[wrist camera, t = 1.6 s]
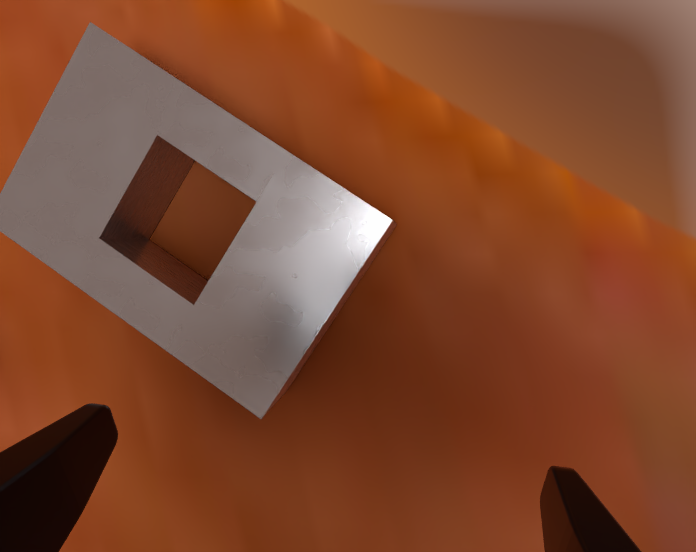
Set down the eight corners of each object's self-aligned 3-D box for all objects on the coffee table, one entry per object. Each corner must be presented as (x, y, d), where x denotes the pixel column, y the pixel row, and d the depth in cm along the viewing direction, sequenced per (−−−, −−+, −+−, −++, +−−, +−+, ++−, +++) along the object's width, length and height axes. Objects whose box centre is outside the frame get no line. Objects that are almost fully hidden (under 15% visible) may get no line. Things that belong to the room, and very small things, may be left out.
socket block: (286, 391, 25) (261, 419, 21) (51, 224, 26) (-15, 220, 22) (396, 224, 23) (392, 220, 19) (142, 57, 25) (90, 22, 21)
